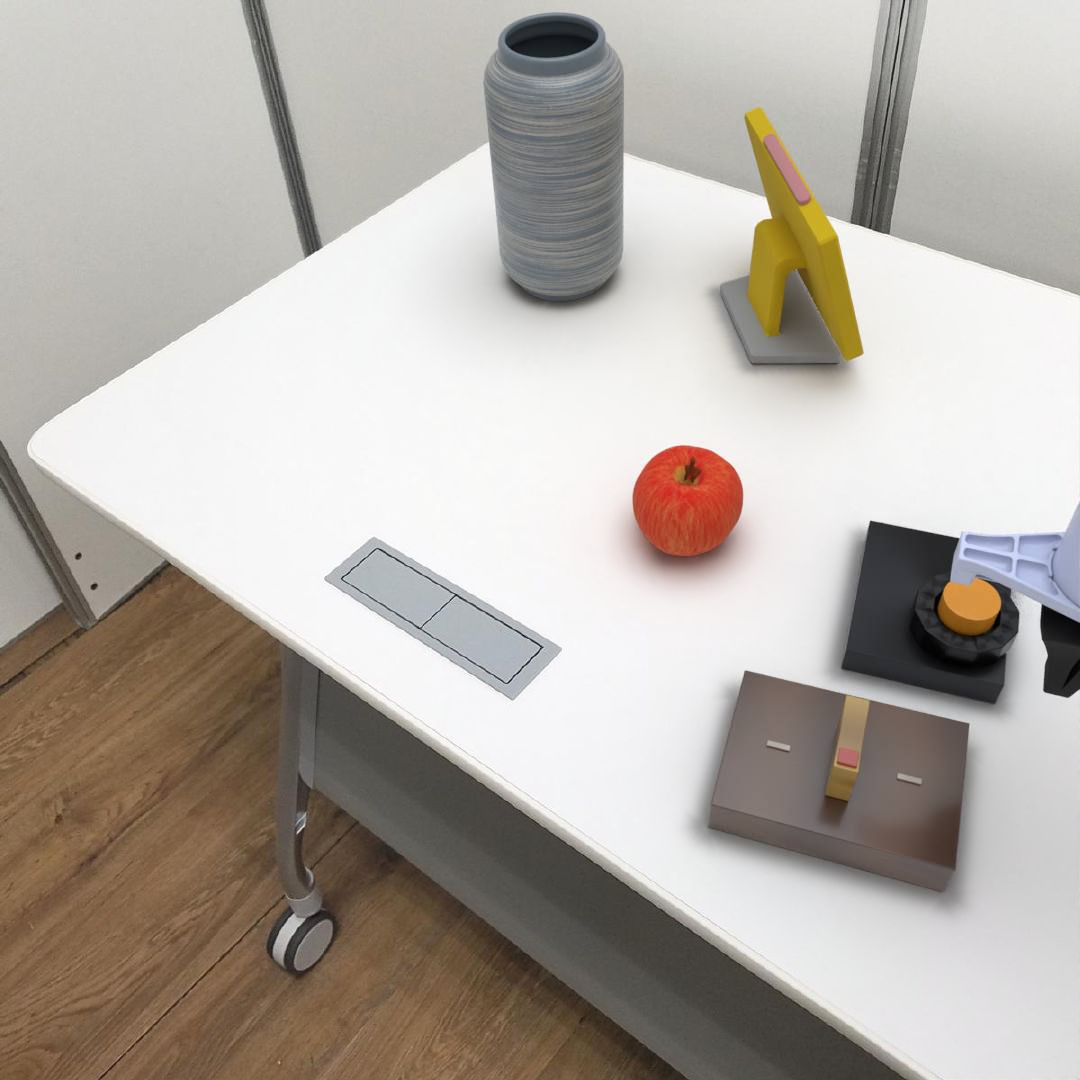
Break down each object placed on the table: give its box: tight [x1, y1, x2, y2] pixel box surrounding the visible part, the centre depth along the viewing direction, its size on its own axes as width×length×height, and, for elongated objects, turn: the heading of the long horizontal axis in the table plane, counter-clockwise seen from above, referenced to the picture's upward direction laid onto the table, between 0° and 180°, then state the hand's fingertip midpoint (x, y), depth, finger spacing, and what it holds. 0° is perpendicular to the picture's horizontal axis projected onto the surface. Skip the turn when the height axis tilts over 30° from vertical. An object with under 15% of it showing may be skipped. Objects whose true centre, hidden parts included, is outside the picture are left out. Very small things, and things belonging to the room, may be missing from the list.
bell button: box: [938, 578, 1001, 636], centre depth 72 cm, size 4×4×2 cm
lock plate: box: [707, 669, 970, 893], centre depth 67 cm, size 14×10×3 cm
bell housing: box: [840, 520, 1020, 705], centre depth 75 cm, size 10×12×4 cm
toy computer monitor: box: [719, 106, 865, 364], centre depth 93 cm, size 20×8×16 cm, turn 9°
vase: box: [482, 11, 625, 302], centre depth 97 cm, size 12×12×23 cm
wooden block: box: [825, 694, 870, 801], centre depth 65 cm, size 5×1×4 cm, turn 161°
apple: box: [631, 444, 744, 557], centre depth 80 cm, size 8×8×8 cm
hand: (1057, 680), depth 61 cm, fingers closed
